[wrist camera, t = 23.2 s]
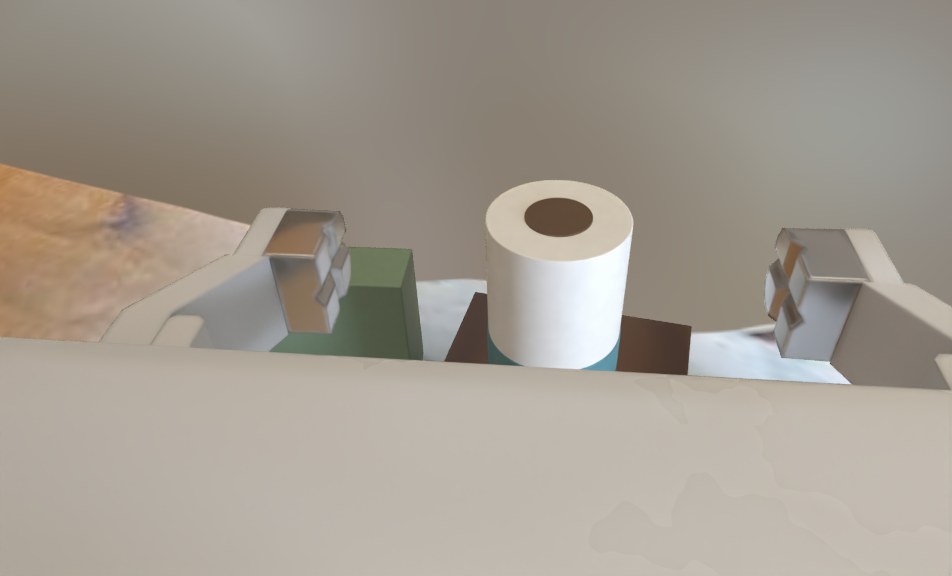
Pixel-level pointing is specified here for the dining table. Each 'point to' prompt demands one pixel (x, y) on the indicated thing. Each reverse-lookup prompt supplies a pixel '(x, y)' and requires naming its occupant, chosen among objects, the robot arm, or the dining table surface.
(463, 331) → the chopping block
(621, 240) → the paper roll
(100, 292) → the dining table surface
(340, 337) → the green block
